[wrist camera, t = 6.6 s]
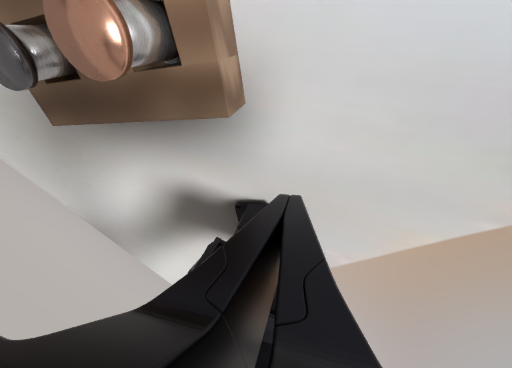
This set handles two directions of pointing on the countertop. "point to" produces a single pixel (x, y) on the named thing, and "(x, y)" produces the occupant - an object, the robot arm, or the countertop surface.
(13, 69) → the grey plug
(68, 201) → the countertop surface
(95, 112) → the socket block
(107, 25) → the copper capped plug
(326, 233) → the countertop surface
